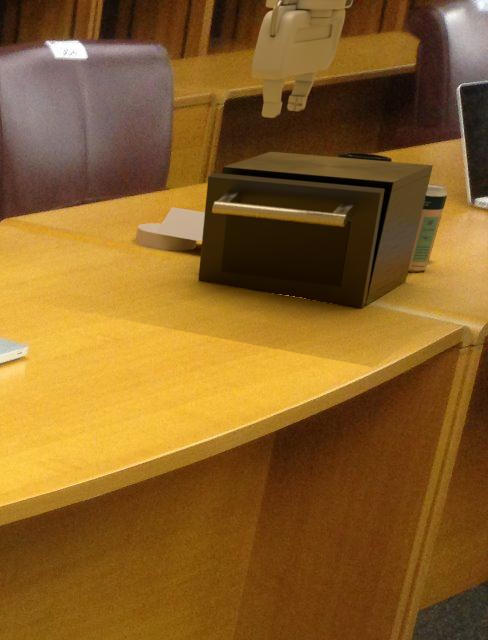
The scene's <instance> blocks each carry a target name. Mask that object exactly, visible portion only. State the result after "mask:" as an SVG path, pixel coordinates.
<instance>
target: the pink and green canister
mask: <svg viewBox="0 0 488 640" xmlns="http://www.w3.org/2000/svg"><path fill="white" fill-rule="evenodd" d="M447 198H448V192H447V187H446V186H445V185H440V184H435V183H429V184H428V188H427V193H426V197H425V201H424V206H423V210H422V214H421V218H420V223H419V227H418V231H417V235H416V240H415V244H414V248H413V252H412V257H411V261H410V265H409V270H408V273H420V272H422V271H424V270H426V269H427V268H428V265H429V261H430V258H431V255H432V251H433V247H434V244H435V240H436V237H437V233H438V229H439V226H440V222H441V219H442V216H443V212H444V208H445V204H446V201H447Z"/></svg>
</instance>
